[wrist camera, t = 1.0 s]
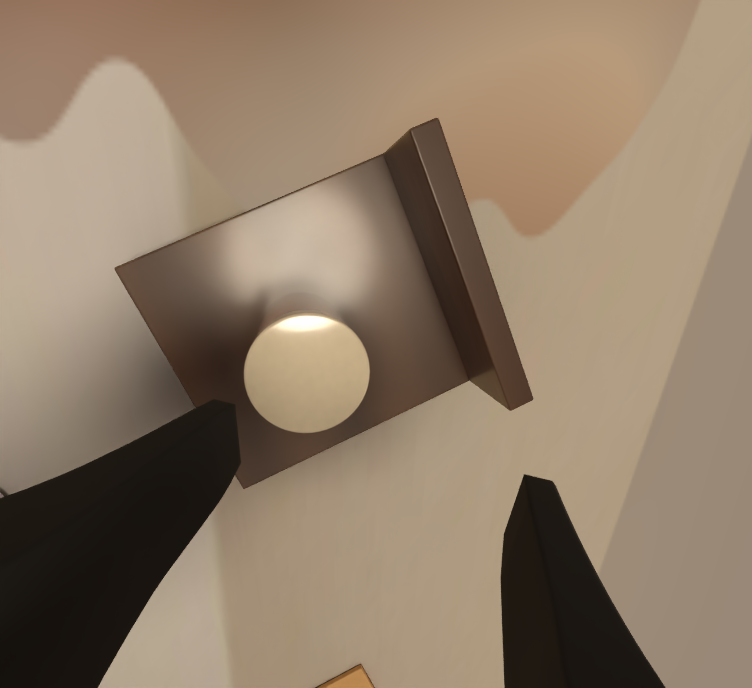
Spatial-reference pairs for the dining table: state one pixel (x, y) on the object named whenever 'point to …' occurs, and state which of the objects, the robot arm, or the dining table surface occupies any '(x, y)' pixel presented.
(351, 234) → the brown stepped block
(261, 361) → the spice jar
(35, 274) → the dining table surface
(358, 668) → the coaster
